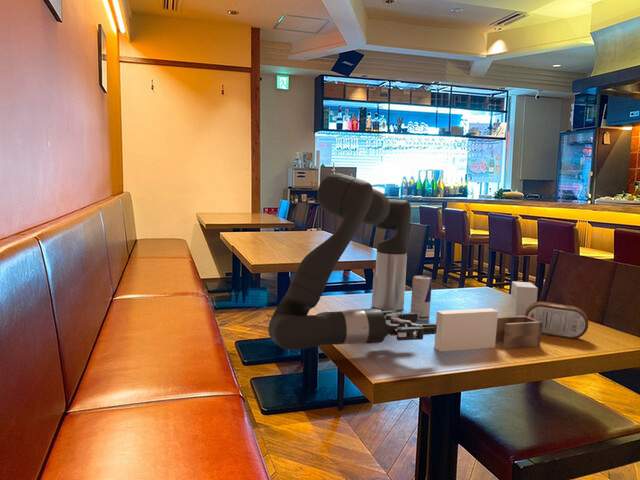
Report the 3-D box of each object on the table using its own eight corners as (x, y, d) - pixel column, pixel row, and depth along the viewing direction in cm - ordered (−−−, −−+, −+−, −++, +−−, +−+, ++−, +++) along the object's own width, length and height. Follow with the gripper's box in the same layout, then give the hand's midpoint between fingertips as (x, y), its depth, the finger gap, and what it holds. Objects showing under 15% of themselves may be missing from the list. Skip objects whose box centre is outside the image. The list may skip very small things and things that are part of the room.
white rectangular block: (439, 351, 109) (442, 314, 107) (434, 347, 111) (436, 310, 110) (494, 347, 113) (498, 311, 112) (488, 343, 115) (491, 308, 114)
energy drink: (432, 318, 135) (435, 277, 134) (422, 322, 131) (425, 280, 130) (416, 314, 139) (419, 274, 137) (406, 317, 135) (409, 276, 133)
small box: (534, 324, 134) (538, 287, 133) (514, 322, 135) (517, 286, 134) (528, 316, 142) (531, 282, 140) (508, 314, 143) (511, 280, 141)
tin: (586, 339, 122) (590, 307, 121) (587, 342, 120) (591, 310, 119) (523, 329, 129) (526, 299, 128) (523, 332, 126) (526, 301, 125)
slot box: (505, 348, 112) (508, 324, 111) (489, 340, 118) (491, 317, 117) (540, 346, 115) (542, 322, 114) (522, 338, 121) (525, 315, 120)
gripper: (374, 319, 96) (444, 315, 101) (349, 301, 109) (412, 299, 114) (372, 354, 97) (441, 349, 102) (348, 332, 110) (410, 329, 115)
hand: (425, 322), depth 108 cm, fingers open, 8 cm apart
